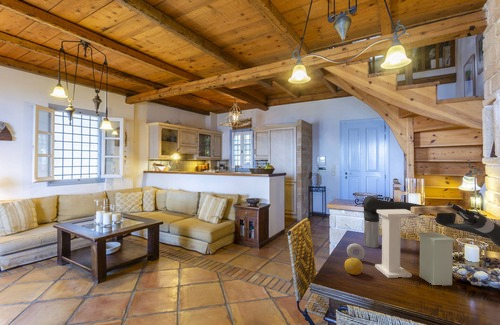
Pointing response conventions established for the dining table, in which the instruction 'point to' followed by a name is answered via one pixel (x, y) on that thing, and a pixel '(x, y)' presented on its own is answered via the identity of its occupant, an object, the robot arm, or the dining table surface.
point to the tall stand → (392, 242)
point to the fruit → (353, 266)
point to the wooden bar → (433, 209)
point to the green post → (436, 258)
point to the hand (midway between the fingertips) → (449, 205)
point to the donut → (357, 247)
